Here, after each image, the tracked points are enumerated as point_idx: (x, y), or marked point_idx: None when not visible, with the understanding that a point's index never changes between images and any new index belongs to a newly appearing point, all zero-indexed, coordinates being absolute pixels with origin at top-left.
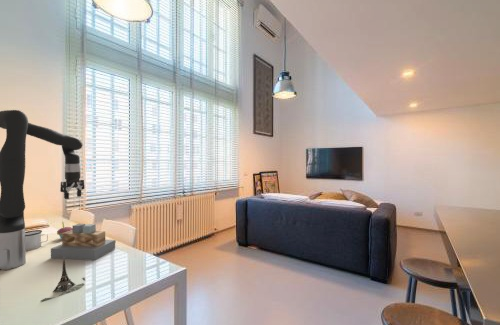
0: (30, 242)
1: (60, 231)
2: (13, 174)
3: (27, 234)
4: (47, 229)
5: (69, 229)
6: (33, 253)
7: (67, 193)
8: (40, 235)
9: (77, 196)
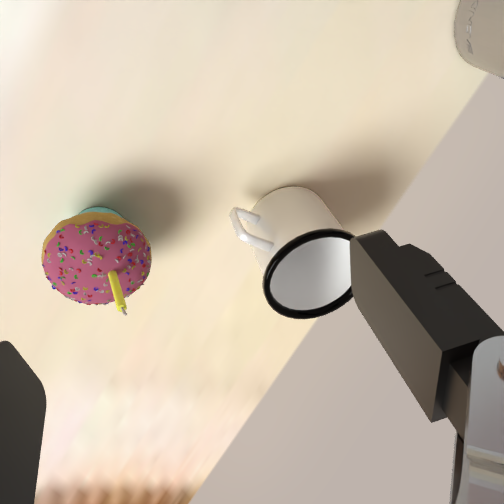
0: (326, 212)
1: (142, 251)
2: None
3: (303, 301)
4: (68, 455)
5: (86, 236)
6: (349, 110)
7: (461, 332)
8: (279, 238)
9: (41, 388)
